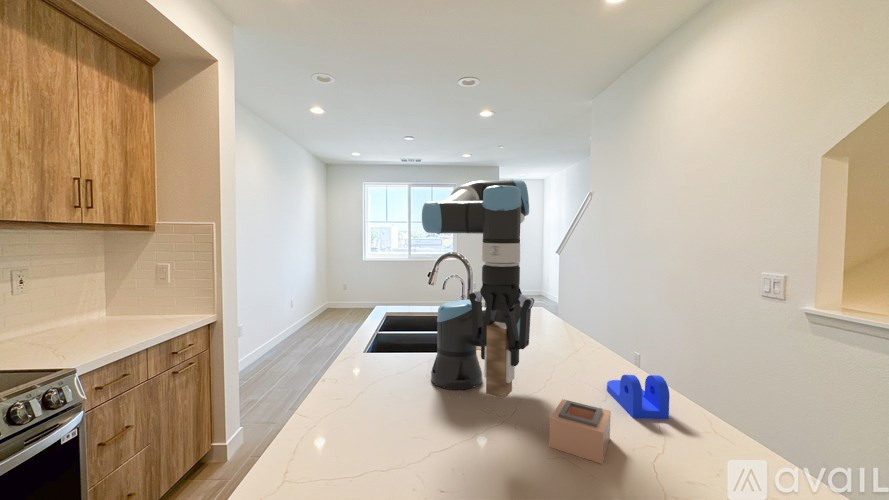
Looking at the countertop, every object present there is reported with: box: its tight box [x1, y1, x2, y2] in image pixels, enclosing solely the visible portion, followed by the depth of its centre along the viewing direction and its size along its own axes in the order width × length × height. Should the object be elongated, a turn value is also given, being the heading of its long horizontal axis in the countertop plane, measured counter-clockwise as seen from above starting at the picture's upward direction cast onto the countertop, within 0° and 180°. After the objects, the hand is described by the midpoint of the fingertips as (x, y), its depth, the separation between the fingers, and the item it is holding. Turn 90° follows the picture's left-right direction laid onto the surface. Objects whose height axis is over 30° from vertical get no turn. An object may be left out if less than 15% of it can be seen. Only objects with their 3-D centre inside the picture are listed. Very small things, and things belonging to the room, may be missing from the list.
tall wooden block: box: [485, 322, 513, 399], centre depth 73 cm, size 4×4×14 cm
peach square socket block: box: [548, 398, 612, 465], centre depth 74 cm, size 10×10×7 cm
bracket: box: [606, 374, 670, 420], centre depth 93 cm, size 18×8×9 cm, turn 178°
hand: (499, 377), depth 73 cm, fingers closed on tall wooden block, 4 cm apart
